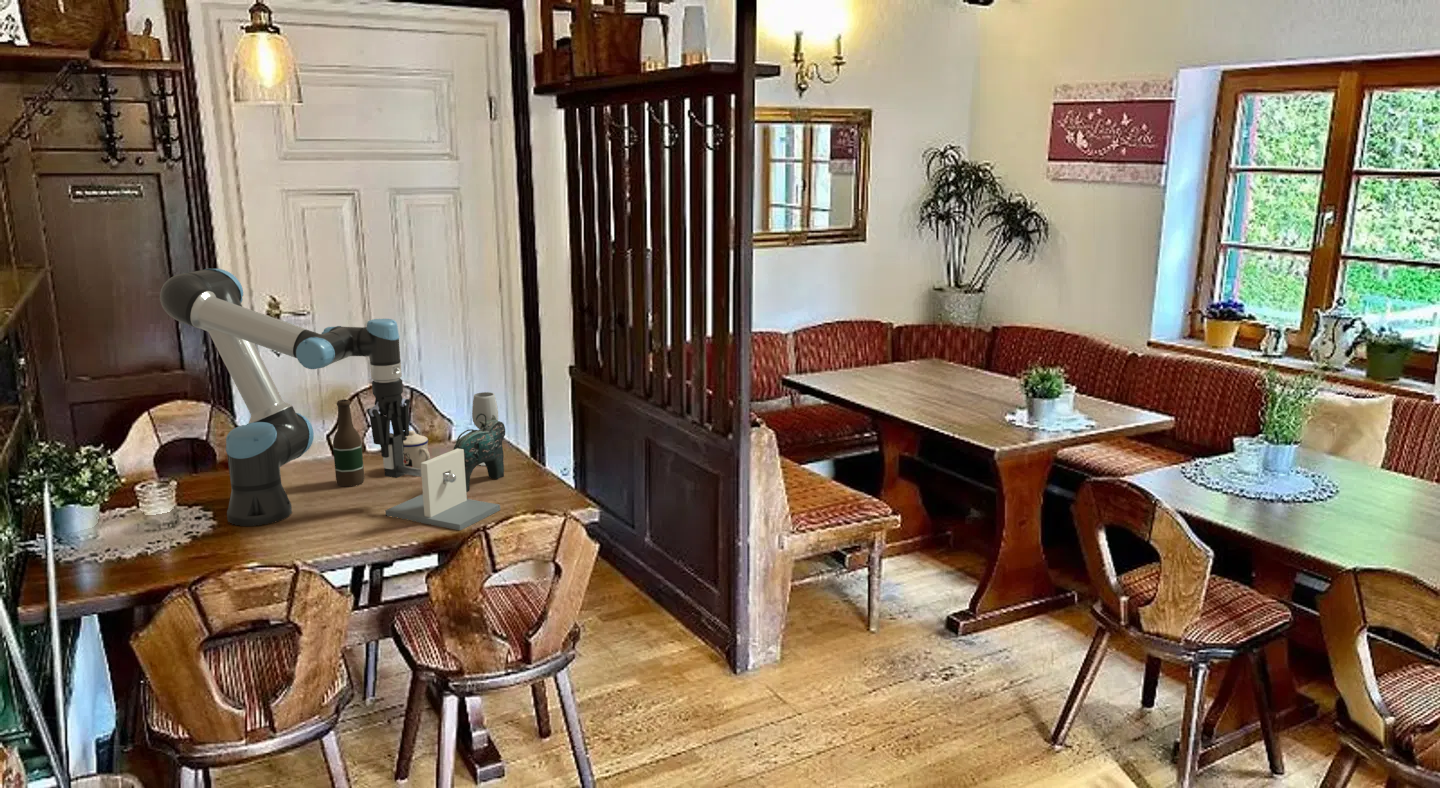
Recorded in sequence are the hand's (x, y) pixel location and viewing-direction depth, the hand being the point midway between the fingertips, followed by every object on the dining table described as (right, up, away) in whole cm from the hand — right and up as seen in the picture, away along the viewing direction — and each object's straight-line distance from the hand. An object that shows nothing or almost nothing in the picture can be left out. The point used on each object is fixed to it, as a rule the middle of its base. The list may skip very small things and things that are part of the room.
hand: (393, 466), depth 266 cm
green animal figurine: (+19, -7, +19) cm, 27 cm away
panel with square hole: (+15, -12, -4) cm, 20 cm away
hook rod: (+8, -3, -3) cm, 9 cm away
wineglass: (+16, -2, +38) cm, 41 cm away
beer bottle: (-19, -6, +20) cm, 28 cm away
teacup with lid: (-3, -4, +31) cm, 31 cm away
